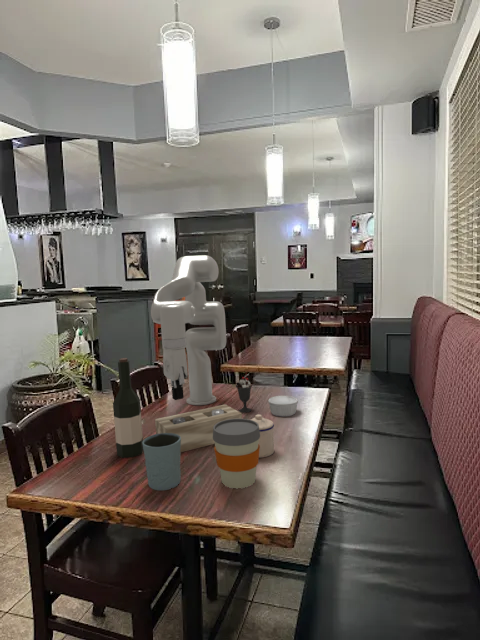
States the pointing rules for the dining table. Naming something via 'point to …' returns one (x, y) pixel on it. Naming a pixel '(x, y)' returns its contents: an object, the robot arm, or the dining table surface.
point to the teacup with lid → (265, 436)
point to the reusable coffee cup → (237, 451)
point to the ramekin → (283, 405)
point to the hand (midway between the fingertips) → (178, 398)
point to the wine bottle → (127, 415)
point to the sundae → (244, 392)
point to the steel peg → (217, 412)
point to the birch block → (196, 426)
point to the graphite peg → (178, 420)
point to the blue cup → (162, 460)
